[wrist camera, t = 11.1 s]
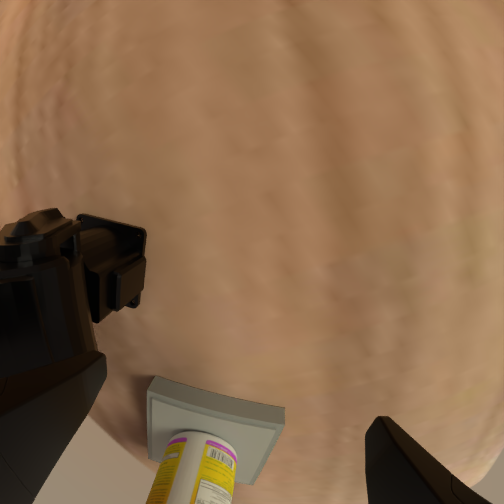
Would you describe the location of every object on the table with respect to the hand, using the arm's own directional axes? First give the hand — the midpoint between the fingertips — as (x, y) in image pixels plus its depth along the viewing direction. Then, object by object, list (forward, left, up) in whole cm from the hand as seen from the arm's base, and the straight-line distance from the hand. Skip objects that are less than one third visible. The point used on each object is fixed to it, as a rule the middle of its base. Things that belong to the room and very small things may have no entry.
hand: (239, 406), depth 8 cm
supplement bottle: (-1, -18, -11) cm, 21 cm away
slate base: (-1, -18, -13) cm, 22 cm away
